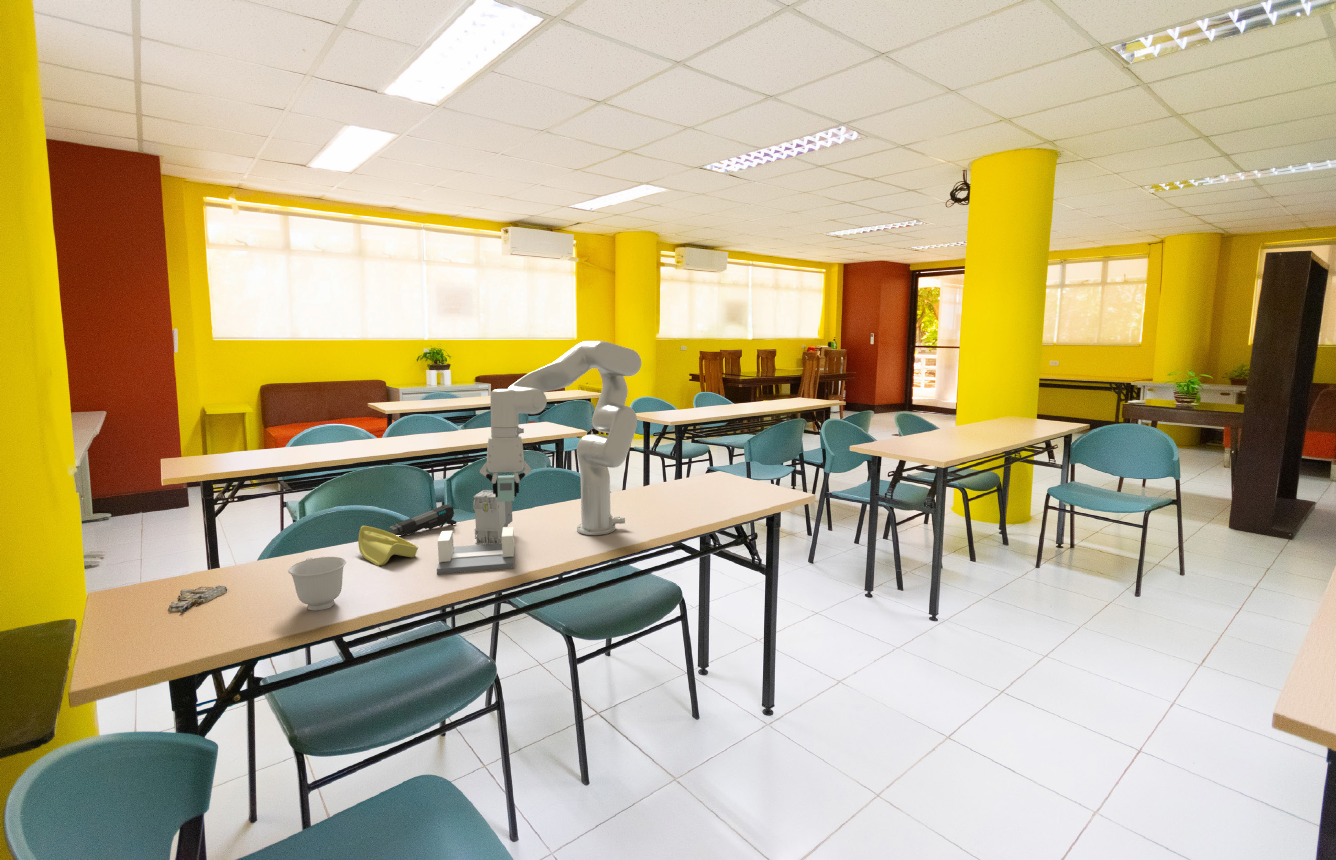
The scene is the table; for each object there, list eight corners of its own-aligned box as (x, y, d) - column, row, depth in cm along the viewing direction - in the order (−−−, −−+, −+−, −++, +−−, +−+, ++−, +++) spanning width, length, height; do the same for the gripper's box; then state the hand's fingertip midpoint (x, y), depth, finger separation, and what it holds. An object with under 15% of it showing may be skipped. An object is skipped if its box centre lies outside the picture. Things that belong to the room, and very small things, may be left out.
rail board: (514, 547, 192) (513, 522, 191) (513, 568, 175) (512, 540, 173) (445, 552, 188) (443, 526, 186) (437, 574, 170) (435, 546, 169)
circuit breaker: (514, 530, 208) (512, 485, 206) (499, 544, 194) (496, 496, 192) (492, 529, 209) (490, 485, 207) (475, 543, 195) (473, 496, 193)
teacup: (337, 587, 161) (334, 550, 160) (356, 606, 150) (353, 565, 149) (283, 601, 153) (279, 561, 152) (299, 621, 142) (295, 578, 141)
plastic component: (421, 548, 184) (391, 542, 176) (411, 573, 183) (380, 567, 175) (387, 530, 196) (357, 523, 189) (378, 553, 195) (347, 547, 187)
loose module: (514, 495, 186) (514, 475, 185) (514, 501, 179) (514, 480, 178) (498, 496, 184) (498, 475, 184) (497, 501, 178) (497, 480, 177)
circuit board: (169, 620, 145) (168, 610, 144) (169, 598, 156) (168, 589, 156) (232, 606, 152) (231, 597, 152) (228, 586, 164) (227, 577, 163)
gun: (460, 524, 214) (449, 499, 211) (405, 556, 203) (393, 530, 199) (454, 521, 218) (443, 496, 214) (400, 552, 206) (387, 527, 202)
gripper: (535, 430, 185) (535, 491, 187) (474, 431, 181) (476, 494, 183) (535, 434, 178) (536, 497, 180) (472, 435, 174) (474, 500, 176)
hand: (506, 495), depth 182 cm, fingers closed on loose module, 4 cm apart
